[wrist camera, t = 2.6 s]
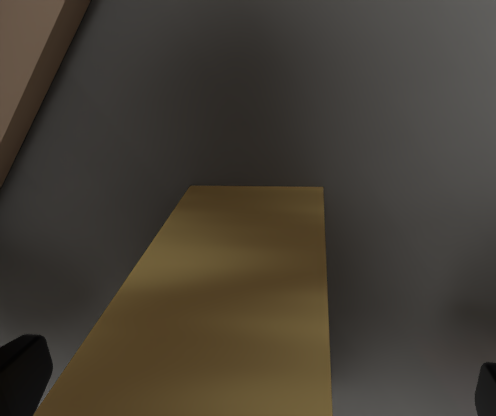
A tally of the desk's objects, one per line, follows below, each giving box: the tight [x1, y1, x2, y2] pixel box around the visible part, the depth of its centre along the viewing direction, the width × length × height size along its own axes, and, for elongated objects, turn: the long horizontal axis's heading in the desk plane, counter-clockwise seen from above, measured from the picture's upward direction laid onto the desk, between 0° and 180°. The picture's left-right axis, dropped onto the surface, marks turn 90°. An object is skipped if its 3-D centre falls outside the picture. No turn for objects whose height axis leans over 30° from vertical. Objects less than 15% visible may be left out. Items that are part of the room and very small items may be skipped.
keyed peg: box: [33, 186, 333, 416], centre depth 8 cm, size 3×6×7 cm, turn 3°
